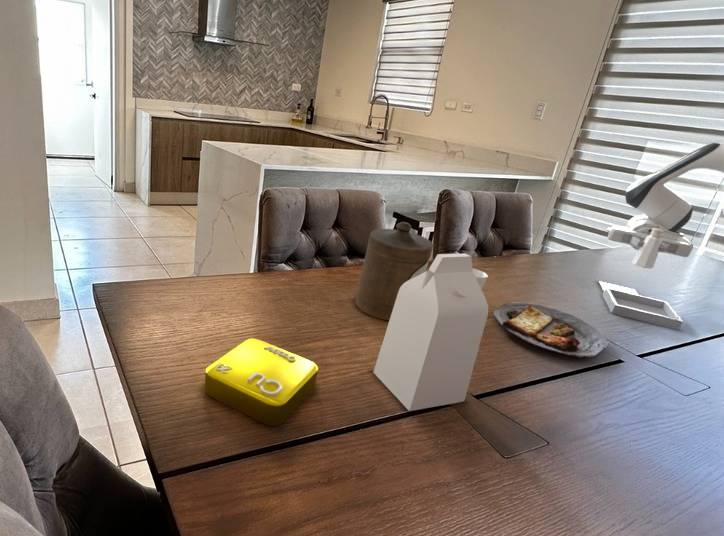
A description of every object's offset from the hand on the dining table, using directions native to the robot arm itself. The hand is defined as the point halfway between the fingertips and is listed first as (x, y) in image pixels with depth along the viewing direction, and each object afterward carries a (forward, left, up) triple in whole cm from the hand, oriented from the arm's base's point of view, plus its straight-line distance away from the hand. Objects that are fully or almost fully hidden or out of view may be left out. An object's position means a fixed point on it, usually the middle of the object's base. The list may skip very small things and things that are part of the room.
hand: (651, 246), depth 134 cm
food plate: (+25, +43, -17) cm, 52 cm away
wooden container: (+62, +54, -17) cm, 84 cm away
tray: (-1, +8, -17) cm, 19 cm away
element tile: (+73, +101, -17) cm, 125 cm away
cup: (+44, +33, -17) cm, 57 cm away
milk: (+49, +84, -17) cm, 98 cm away
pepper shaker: (0, -1, -6) cm, 6 cm away
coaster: (+1, -7, -17) cm, 19 cm away
